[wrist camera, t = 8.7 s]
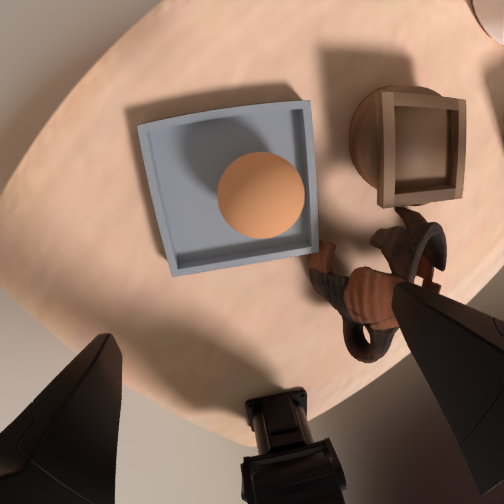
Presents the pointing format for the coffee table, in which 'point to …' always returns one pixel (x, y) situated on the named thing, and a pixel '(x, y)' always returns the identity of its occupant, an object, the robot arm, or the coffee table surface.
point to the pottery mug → (380, 281)
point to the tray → (208, 176)
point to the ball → (260, 195)
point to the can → (491, 17)
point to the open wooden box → (410, 145)
